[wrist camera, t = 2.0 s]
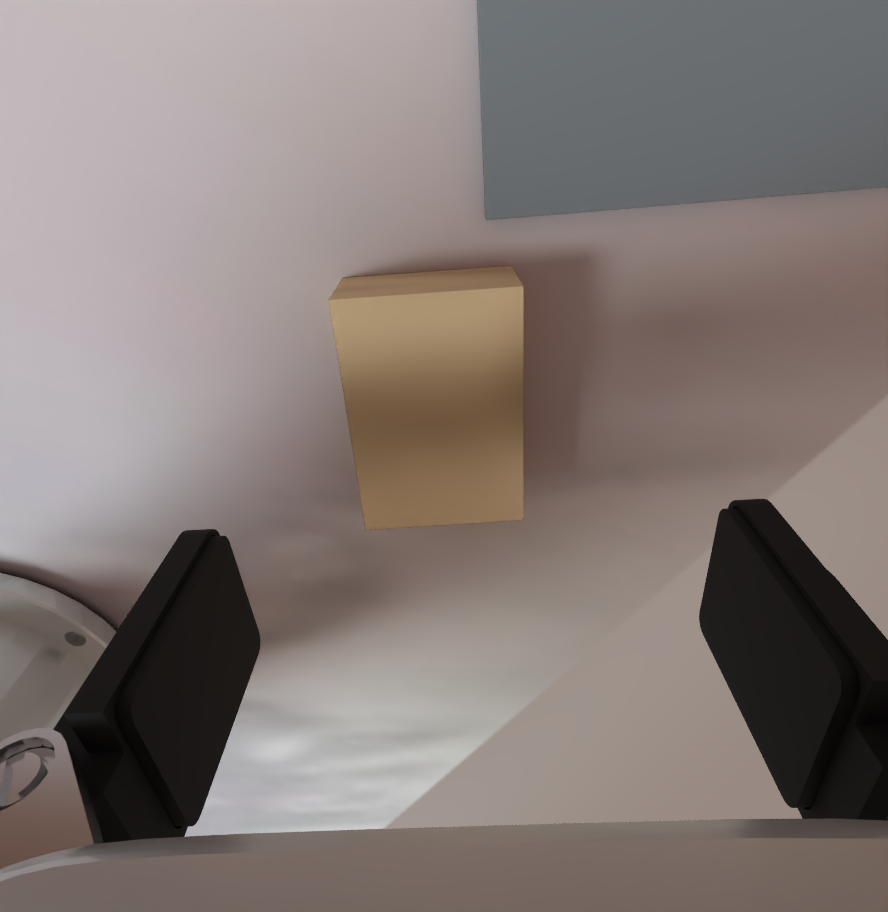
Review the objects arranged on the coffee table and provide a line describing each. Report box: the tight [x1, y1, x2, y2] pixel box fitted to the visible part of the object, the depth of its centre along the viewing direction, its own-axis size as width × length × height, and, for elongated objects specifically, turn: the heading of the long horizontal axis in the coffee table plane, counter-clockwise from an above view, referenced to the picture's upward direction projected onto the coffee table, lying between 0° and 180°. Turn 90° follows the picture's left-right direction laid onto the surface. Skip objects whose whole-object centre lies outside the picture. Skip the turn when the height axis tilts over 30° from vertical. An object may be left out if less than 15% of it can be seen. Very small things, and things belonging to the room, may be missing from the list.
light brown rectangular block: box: [329, 266, 523, 530], centre depth 20 cm, size 8×6×3 cm
